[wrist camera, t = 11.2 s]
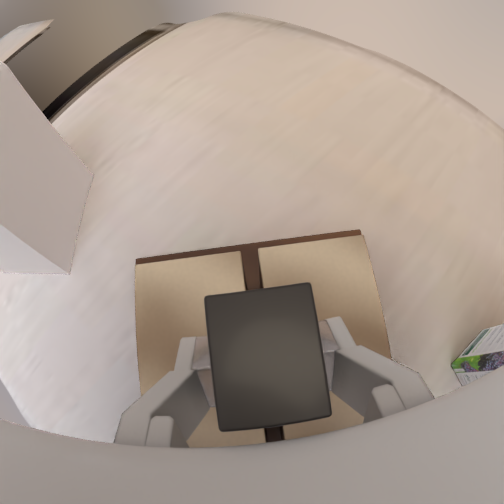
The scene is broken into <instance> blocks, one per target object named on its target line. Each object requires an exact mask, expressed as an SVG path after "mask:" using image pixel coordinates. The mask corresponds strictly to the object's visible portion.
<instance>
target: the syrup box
mask: <svg viewBox="0 0 504 504" xmlns="http://www.w3.org/2000/svg"><path fill="white" fill-rule="evenodd" d="M502 365H504V324H501V325H498V326H494V327H491V328H487V329H484V330H482V331H481V332H480V333H479V335H478V336H477V337H476V338H475V339H474V340H473V341H472V342H471V343H470V345H469V346H468V347H467V348H466V349H465V350H464V351H463V352H462V354H461V355H460V356H459V357H458V358H457V359H456V360H455V361H454V362H453V363H452V365H451V366H452V368H453V370H454V371H455V373H456V375H457V377H458V379H459V381H460V382H461V384H462V386H465V385H467V384H469V383H471V382H473V381H475V380H477V379H479V378H481V377H482V376H484V375H486V374H488V373H490V372H492V371H494V370H495V369H497V368H499V367H501V366H502Z"/></svg>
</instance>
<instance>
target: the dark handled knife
mask: <svg viewBox="0 0 504 504" xmlns="http://www.w3.org/2000/svg"><path fill="white" fill-rule="evenodd" d="M204 307H205V318H206V328H207V338H208V348H209V357H210V366H211V375H212V383H213V391H214V399H215V406H216V413H217V421H218V427H219V430H220V431H221V432H232V431H243V430H253V429H262V428H270V427H277V426H284V425H290V424H296V423H302V422H308V421H313V420H318V419H323V418H327V417H330V416H331V415H332V408H331V400H330V393H329V386H328V379H327V372H326V366H325V359H324V353H323V347H322V340H321V334H320V329H319V323H318V317H317V312H316V306H315V301H314V295H313V290H312V285H311V283H310V282H304V283H297V284H290V285H283V286H276V287H269V288H262V289H254V290H247V291H239V292H231V293H223V294H215V295H207V296H205V297H204Z"/></svg>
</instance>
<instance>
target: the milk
mask: <svg viewBox="0 0 504 504" xmlns="http://www.w3.org/2000/svg"><path fill="white" fill-rule="evenodd" d="M93 177H94V175H93V174H92V172H91V171H90V170H89V169H88V168H87V167H86V165H85V164H84V163H83V162H82V161H81V160H80V158H79V157H78V156H77V155H76V154H75V152H74V151H73V150H72V149H71V148H70V147H69V145H68V144H67V143H66V142H65V140H64V139H63V138H62V137H61V136H60V134H59V133H58V132H57V131H56V129H55V128H54V127H53V126H52V124H51V123H50V122H49V121H48V119H47V118H46V117H45V116H44V114H43V113H42V112H41V110H40V109H39V108H38V107H37V105H36V104H35V103H34V102H33V100H32V99H31V97H30V96H29V95H28V94H27V92H26V91H25V90H24V88H23V87H22V85H21V84H20V83H19V81H18V80H17V79H16V77H15V76H14V74H13V73H12V72H11V70H10V69H9V68H8V67H7V65H6V64H4V63H3V62H1V61H0V271H2V272H3V273H19V274H70V271H71V265H72V260H73V255H74V250H75V245H76V240H77V236H78V231H79V227H80V223H81V219H82V215H83V211H84V207H85V204H86V200H87V197H88V193H89V190H90V186H91V183H92V180H93Z"/></svg>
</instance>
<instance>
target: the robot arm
mask: <svg viewBox="0 0 504 504" xmlns="http://www.w3.org/2000/svg"><path fill="white" fill-rule="evenodd" d="M318 323H319V329H320V334H321V340H322V347H323V353H324V359H325V366H326V372H327V379H328V386H329V391H332V393H334V394H335V395H336V396H337V397H339V398H340V399H341V400H343V401H344V402H345V403H346V404H348V405H349V406H350V407H351V408H353V409H354V410H355V411H357V412H358V413H359V414H360V415H362V416H363V417H364V421H363V424H359V425H355V426H352V427H348V428H344V429H340V430H335V431H331V432H327V433H322V434H317V435H312V436H307V437H301V438H295V439H289V440H283V441H276V442H268V443H260V444H250V445H239V446H225V447H200V448H190V447H189V446H188V444H187V442H186V441H187V440H188V439H189V437H190V436H191V435H192V433H193V432H194V430H195V429H196V428H197V426H198V425H199V423H200V422H201V421H202V419H203V418H204V417H205V415H206V414H207V412H208V411H209V409H210V407H216V406H215V399H214V391H213V383H212V375H211V366H210V357H209V348H208V338H207V336H197V337H196V336H194V337H182V339H181V340H180V344H179V348H178V353H177V358H176V363H175V368H174V371H169V372H168V373H167V374H166V375H165V376H164V377H163V378H161V379H160V380H159V381H158V382H157V383H156V384H155V385H154V386H153V387H151V388H150V389H149V390H148V391H147V392H146V393H145V394H144V395H142V396H141V397H140V398H139V399H138V400H137V401H136V402H135V403H133V404H132V405H131V406H130V407H129V408H128V409H127V410H125V411H124V412H123V413H122V415H121V419H120V422H119V426H118V429H117V432H116V436H115V440H114V443H105V442H98V441H91V440H85V439H79V438H74V437H69V436H64V435H59V434H54V433H50V432H46V431H42V430H38V429H34V428H30V427H26V426H23V425H20V424H16V423H13V422H10V421H7V420H4V419H1V418H0V504H504V365H502V366H501V367H499V368H497V369H495V370H494V371H492V372H490V373H488V374H486V375H484V376H482V377H481V378H479V379H477V380H475V381H473V382H471V383H469V384H467V385H465V386H462V387H460V388H458V389H456V390H454V391H452V392H449V393H447V394H445V395H443V396H440V397H438V398H434V396H433V395H432V393H431V391H430V390H429V388H428V387H427V385H426V384H425V382H424V380H423V379H422V377H421V376H420V374H419V373H418V372H416V371H414V370H411V369H409V368H407V367H405V366H403V365H401V364H399V363H397V362H395V361H393V360H390V359H388V358H386V357H384V356H382V355H380V354H378V353H376V352H374V351H372V350H370V349H368V348H366V347H364V346H362V345H359V346H357V345H356V344H355V342H354V340H353V338H352V336H351V334H350V333H349V331H348V329H347V327H346V325H345V323H344V322H343V320H342V318H341V317H339V316H338V317H333V318H328V319H325V320H321V321H318Z"/></svg>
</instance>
